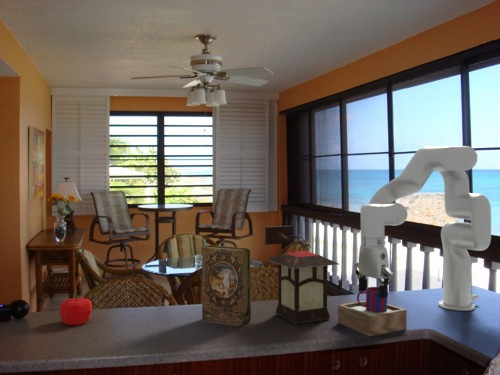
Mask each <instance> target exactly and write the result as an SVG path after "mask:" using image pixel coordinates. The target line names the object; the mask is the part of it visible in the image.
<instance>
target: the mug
mask: <svg viewBox="0 0 500 375" xmlns="http://www.w3.org/2000/svg"><path fill="white" fill-rule="evenodd" d="M362 293H363V294H365V296H366V297H365V299H366V305H362V304H361V303H360V301H361V300H360V295H361V294H362ZM356 302H358V303H359V304H360V305H361V306H363V307H366V310H368V311H371V312H386V311H387V304H388V297H385V298H379V286H370V287H369V286H367V288H366V291H360V292H359V291H358V293H357V295H356Z"/></svg>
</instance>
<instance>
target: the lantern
mask: <svg viewBox="0 0 500 375" xmlns="http://www.w3.org/2000/svg"><path fill="white" fill-rule="evenodd" d="M294 239H297V240H296V242H295V246H294V250H293V251H291V252H284V253H281V254H278V255H277V256H273V257H270V258H267V259H266V261H268V262H271V263H275V264H276V265H278V266H277V267H278V268H277V270H278V271H277V272H278V278H277V279H278V280H277V281H278V282H277V285H278V289H277V291H278V295H277V296H278V302H277V303H278V304H277V307H276V310H275V312H274V314H276V315H277V316H279V317H281V318H282V319H284V320H286V321H288V322H289V323H290V322H291V323H292V324H293V325H303V324H307V323H308V324H309V323H315V322H316V323H317V322H323V321H329V320H330V319H331V316H330V313H329V310H328V266H337V265H340V263H338V262H336V261H334V260H332V259H330V258H327V257H325V256H322V255H320V254H318V253H313V252H310V251H309V249H308V246H307V243H306V241H305V239H304V238H303V237H302V236H299V235H294V225H277V226H276V225H274V226H264V244H265V245H268V246H269V245H282V244H294ZM299 239H302V240H303V241H304V244H305V248H306V249H307V250H306V251H305V250H300V251H296V246H297V243H298V240H299Z"/></svg>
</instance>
